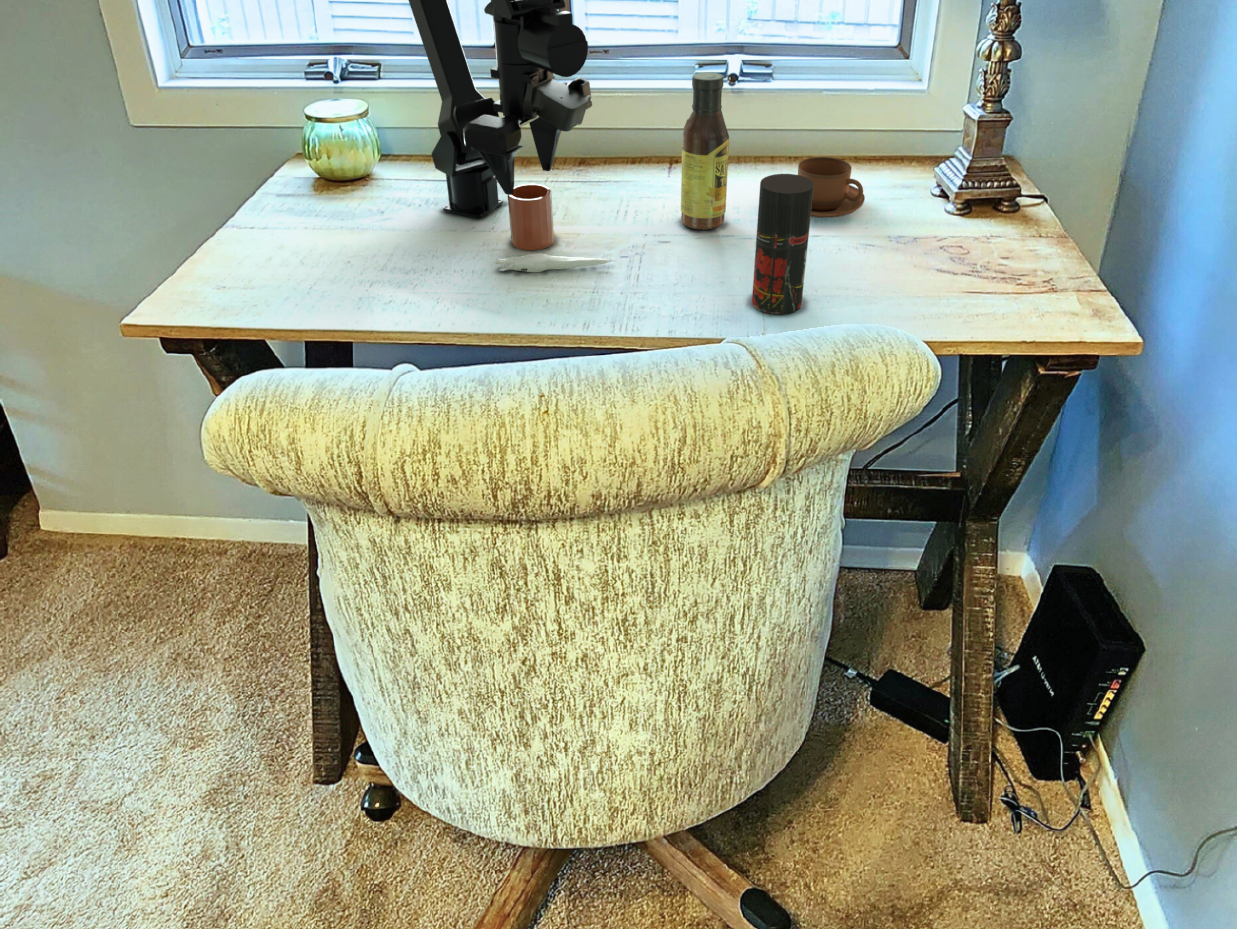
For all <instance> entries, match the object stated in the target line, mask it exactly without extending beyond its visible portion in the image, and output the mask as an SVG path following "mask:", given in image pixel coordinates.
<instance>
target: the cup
mask: <svg viewBox="0 0 1237 929" xmlns="http://www.w3.org/2000/svg"><path fill="white" fill-rule="evenodd" d="M552 193H553V192H552V190H551V188H550V187H549V186H546V185H544V184H540V183H539V184H538V183H524V184H519V185H516V186H515V185H514V192H513V194H512V195H507V203H508V215H509V216H508V218H509V229H510V230H509V231H510V239H511V243H512V246H513V247H514V248H517V249H519V250H522V251H523V250H524V251H538V250H539V251H540V250H543V249H547V248H549V247H551V246H552V245H553V244H554V243H555V229H554V213H553V212H554V211H553V194H552Z"/></svg>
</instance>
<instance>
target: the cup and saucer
mask: <svg viewBox="0 0 1237 929" xmlns="http://www.w3.org/2000/svg"><path fill="white" fill-rule="evenodd" d="M797 175H800V176H804V177H806V178H808V179H810V180H811V181H812V182H813V183H814V189H813V198H812V208H811V217H812V218H819V219H821V218H822V219H823V218H824V219H829V218H838V217H844V216H847V215H848V216H849V215H850V214H853V213H854V212H856V211H857V210H859V209H860V208H861V207H863V205H864V203H865V199H866V196H865V194H864V187H863V184H862V183H861V182H860V181H859V180H857V179H855V178H851V175H852V165H851V164H850V163H849V162H847V161H845V160H843V159H840V158H837V157H828V156H815V157H814V156H813V157H809V158H805V159H802V160H801V161H800V162H799V163H798V166H797ZM854 185H855V186H856V187H855V186H854Z"/></svg>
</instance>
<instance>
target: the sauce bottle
mask: <svg viewBox="0 0 1237 929" xmlns="http://www.w3.org/2000/svg"><path fill="white" fill-rule="evenodd" d="M691 80H692V81H691V86H692V87H691V88H692V105H691V108H692V112H691V113H690V115H689V117H688V118H687V119H686V121H685V124H684V126H683V133H682V138H683V140H682V147H681V178H680V180H681V183H680V184H681V188H680V211H681V219H680V220H681V222H682V224H683V225H684V226H686V227H688V228H690V229H694V230H712V229H716V228H718V227H720V226H721V225H723V224H724V222H725V215H726V212H727V211H726V208H727V190H728V171H729V152H730V151H729V150H730V135H729V132H728V128H727V125H726V122H725V118H724V115H723V111H722V108H723V107H722V93H723V87H724V75H723V74H721V73H719V72H713V71H712V72H711V71H704V72H697V73H695V74H693V75H692V77H691Z"/></svg>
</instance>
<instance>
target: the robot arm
mask: <svg viewBox="0 0 1237 929" xmlns="http://www.w3.org/2000/svg"><path fill="white" fill-rule="evenodd" d="M408 4H409V6H410V9H411V12H412V16H413V19H414V21H415V24H416V28H417V30H418V33H419V35H420V39H421V42H422V45H423V49H424V51H425V55H426V58H427V61H428V63H429V67H430V69H431V72H432V75H433V78H434V82H435V84H436V87H437V90H438V93H439V97H440V99H441V105H440V110H439V115H438V120H437V127H438V131H439V136H440V137H439V139H438V141H437V142H436V144H435V146H434V148H433V150H432V152H431V157H432V161H433V165H434V168H435V169H436V170H437V171H438V172H439V171H440V172H441V173H443V174H445V179H446V188H447V189H446V190H447V196H448V197H447V198H448V203H447V204H445V205H443V206H442V211H443V212H446V213H450V214H451V213H452V214H456V215H461V216H464V217H465V216H466V217H470V218H474V219H481V218H483V217H484V216H485V215H487V214H489V213H490V212H492V211H493V210H495V209H496V208H498V207H500V206H501V205H503V204H504V200H503V199H501V198H499V191H498V185H499V186H500V189H501V190H502V191H503V193H504V194H505V195H506V196H508V195H512V194H513V192H514V187H515V157H516V155H517V154H518V153H519V152H520V151H521V150H522V149H523V147H524V146H523V145H521V144H520V142H521V140H522V128H523V127H524V126H527V125H528V124H529V128H530V131H531V135H532V139H533V141H534V146H535V149H536V153H537V157H538V160H539V163H540V166H541V169H542V170H543V171H544V172H550V171H551V170H552V167H553V164H554V159H555V155H556V151H557V148H558V144H559V140H560V137H561V133H562V132H570V131H572V129H573V128H575V127H576V126H580V125H581V124H583V121H584V118H585V114H586V111H587V110H588V109H590V108H592V107H593V101H592V93H591V84H590V81H589V80H587V79H585V77H582V76H579V77H577V78H575V79H573V80H572V81H571V82H570V83H569V84H568V82H567V81H563V82H559V81H557V80H555V76H554V75H557V76H559V77H562V78H570V77H573V76H575V75H576V74H577V73H579V72H580V70H582V68H583V67H584V66H585V63H586V62H587V58H588V54H589V42H588V40H587V38H586V35H585V33H584V31H583V30H582V28H580V27H579V26H577V25H576V24H574V20H573V13H572V12H570V11H567V10H564V11H562V10H563V9H565V8H566V3H565V0H490V2H489V3H487V4H486V5H485V7H484V9H483V11H484V13H485V15H488V16H491V17H492V18H493V19H492V20H493V30H494V41H495V42H494V43H495V55H496V56H495V57H496V66H495V67H492V68H490V71H489V72H490V78H491V79H496V80H498V81H497V82H498V92H499V93H498V94H499V100H497V101H495V100H494V98H492V97H487V98H485V97H484V96H483V95H482V94H481V92H479V90H477V88H476V85H475V83H474V82H475V81H474V79H473V76H472V72H471V71H470V67H469V64H468V61H467V58H466V55H465V51H464V49H463V46H462V45H463V44H462V43H461V39H460V36H459V33H458V30H457V28H456V27H457V26H456V24H455V21H454V17H453V15H452V12H451V8H450V6H449V3H448V0H408ZM499 113H501V114H502V116H503V117H502V116H501V117H500V115H499Z"/></svg>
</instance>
